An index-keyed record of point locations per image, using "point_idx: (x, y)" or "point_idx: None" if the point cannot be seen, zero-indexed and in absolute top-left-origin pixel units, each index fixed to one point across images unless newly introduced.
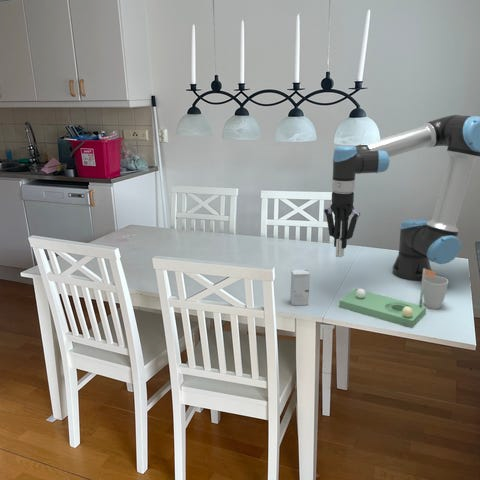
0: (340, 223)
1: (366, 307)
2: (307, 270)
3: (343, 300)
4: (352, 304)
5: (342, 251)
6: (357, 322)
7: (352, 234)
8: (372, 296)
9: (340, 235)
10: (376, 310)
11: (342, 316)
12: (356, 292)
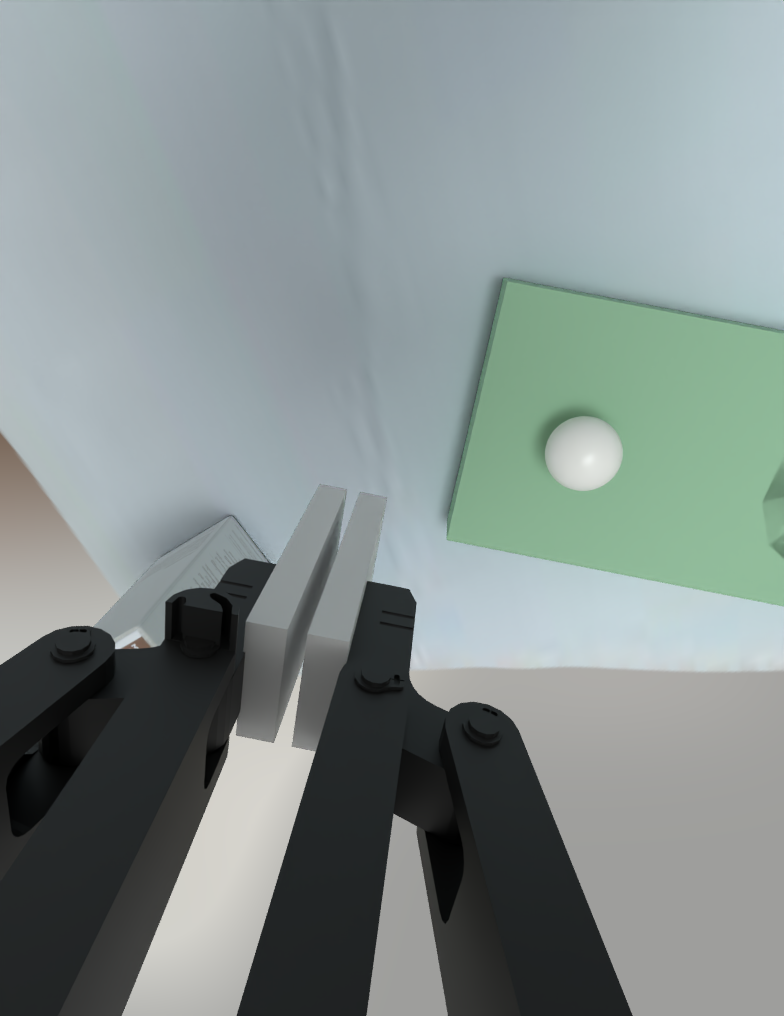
0: (90, 961)
1: (638, 572)
2: (147, 646)
3: (472, 531)
4: (540, 556)
5: (371, 568)
6: (592, 655)
7: (531, 798)
8: (662, 380)
9: (232, 623)
10: (706, 589)
11: (499, 622)
12: (552, 474)
